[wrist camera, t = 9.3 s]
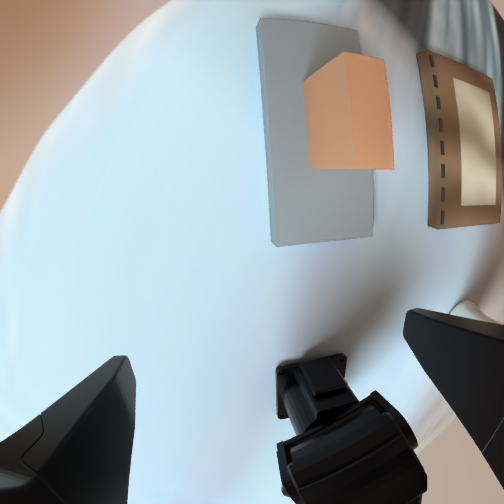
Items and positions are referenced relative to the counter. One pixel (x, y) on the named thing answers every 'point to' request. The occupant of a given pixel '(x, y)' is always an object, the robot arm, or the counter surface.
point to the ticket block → (461, 143)
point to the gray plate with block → (321, 130)
